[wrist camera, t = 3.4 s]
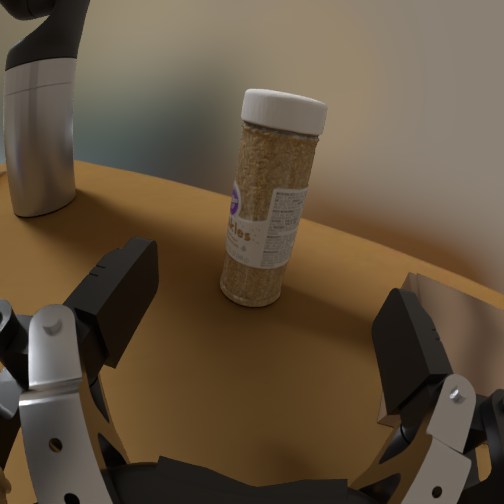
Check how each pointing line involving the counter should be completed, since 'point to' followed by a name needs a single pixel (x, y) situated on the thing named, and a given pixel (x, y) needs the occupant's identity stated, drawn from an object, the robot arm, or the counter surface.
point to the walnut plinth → (461, 336)
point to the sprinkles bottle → (269, 192)
